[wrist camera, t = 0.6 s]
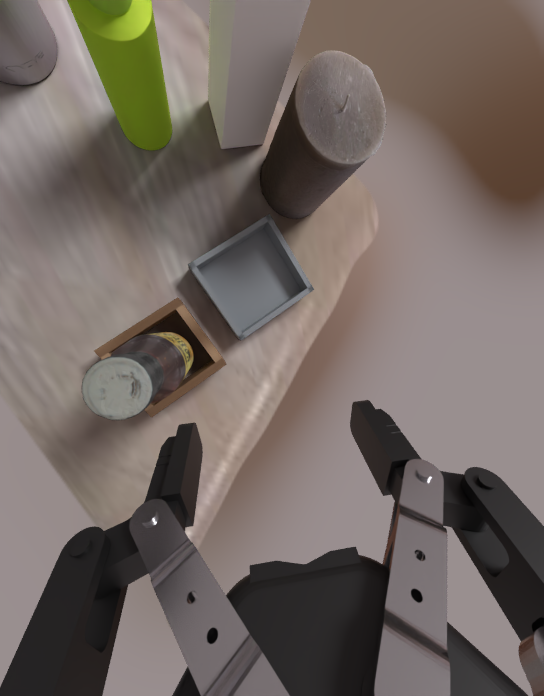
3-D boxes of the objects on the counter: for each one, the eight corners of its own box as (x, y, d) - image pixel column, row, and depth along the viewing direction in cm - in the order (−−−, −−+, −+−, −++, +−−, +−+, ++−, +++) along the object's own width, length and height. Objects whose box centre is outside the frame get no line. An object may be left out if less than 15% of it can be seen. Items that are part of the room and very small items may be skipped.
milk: (221, 150, 34) (245, -128, 13) (207, 99, 33) (210, -291, 12) (264, 144, 36) (351, -117, 14) (252, 95, 35) (327, -264, 13)
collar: (106, 347, 33) (94, 350, 29) (180, 300, 35) (177, 297, 31) (157, 407, 35) (151, 417, 31) (224, 360, 37) (226, 364, 33)
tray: (189, 269, 35) (187, 264, 32) (264, 222, 37) (269, 213, 34) (238, 339, 37) (240, 340, 34) (305, 292, 39) (314, 289, 36)
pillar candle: (248, 193, 36) (279, 109, 21) (278, 131, 36) (330, 4, 21) (306, 232, 38) (369, 180, 24) (334, 173, 39) (414, 87, 24)
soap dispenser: (175, 161, 33) (135, -65, 14) (115, 139, 31) (-28, -158, 12) (184, 114, 33) (157, -182, 14) (125, 89, 31) (-6, -295, 12)
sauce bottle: (202, 347, 36) (201, 376, 17) (177, 385, 36) (147, 458, 17) (159, 321, 34) (103, 319, 15) (132, 361, 34) (40, 411, 15)
